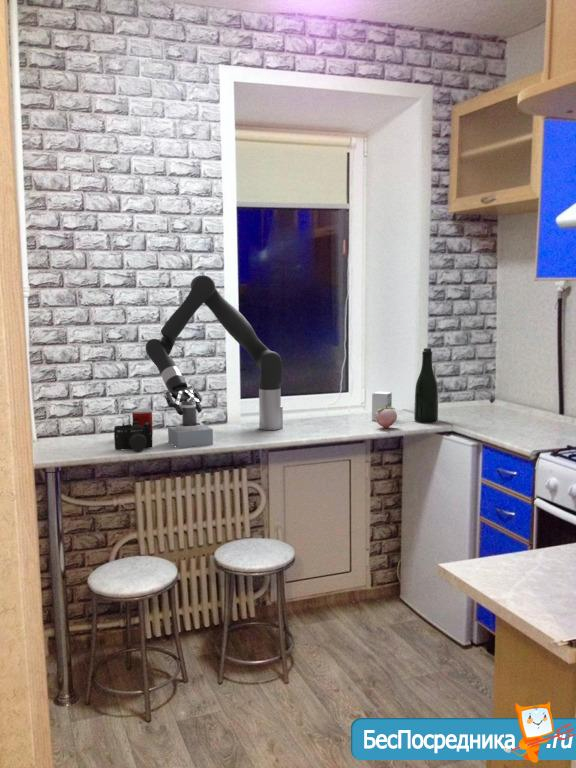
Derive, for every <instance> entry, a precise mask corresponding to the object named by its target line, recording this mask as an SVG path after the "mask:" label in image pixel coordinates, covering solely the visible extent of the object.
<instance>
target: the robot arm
mask: <svg viewBox="0 0 576 768" xmlns="http://www.w3.org/2000/svg"><path fill="white" fill-rule="evenodd" d="M203 304H204V305H206V307H207V308H208V309H209V311H211V312H212V314H213V315H214V317H215V318H216V319H217V321H218V322H219V323H220V324H221V326H222V327H223V329H224V330H226V332H227V333H228V334H229V335H230V336H231V337H232V338H233V339H234V340H235V341H236V342H237V343H238V345H240V346H241V347H242V348H243V349H244V350H245V351H246V352H247V353H248V355H249V356H250V357H251V359H252V360H253V361H254V362H255V364H256V366H257V367H258V368H259V370H260V381H259V382H258V401H259V402H258V403H259V415H258V416H259V425H258V426H259V430H264V431H274V430H275V431H276V430H280V429H283V428H284V414H283V413H284V412H283V409H284V407H283V406H282V405H281V404H282V401H281V400H282V398H281V395H282V392H281V391H282V390H281V389H282V388H281V385H282V381H283V361H282V357H281V355H280V354H279V353H277V352H276V351H272V350H270V349H269V348H268V347H267V346H266V345H265V344H264V343H263V342H262V341H261V340H260V338H259V337H258V336H257V334H256V332H255V330H254V328H253V326H252V324H250V322H249V321H248V320H247V319H246V317H245V316H244V315H243V314H242V313H241V312H240V311H239V310H238V309H237V308H236V307H234V305H233V304H231V303H230V302H229V301H228V300H227V299H225V298H224V296H223V295H222V294H221V293H220V292H219V291H218V289H217V287H216V283H215V281H214V279H213V278H212V277H210V276H208V275H204V274H203V275H197V276H195V277H194V278H193V279H192V281H191V282H190V291H189V293H188V294H187V296H186V298H185V300H184V301H183V302H182V303H181V304H180V306H178V307H177V309H176V310H175V311H174V312H173V313H172V315H171V316H170V317H169V318H168V320H167V321H166V322H165V324H164V325H163V326H162V328H161V330H160V333H161V335H162V337H161V340H159V339H157V338H151V339H149V340H148V341H147V342H146V344H145V352H146V354H147V355H148V358H149V359H150V361H152V363H153V364H154V366H156V368H157V370H158V371H159V374H160V376H161V379H162V381H163V383H164V385H165V387H166V388H167V391H166V393H165V394H164V398H165V399H164V400H165V402H166V404H167V406H168V407H169V408H173V409H175V411H176V413H177V414H178V415H179V416H182V414H183V410H182V405H181V404H180V403H182V402H196V412H197V413H198V414H200V413H201V412H202V410H203V407H202V405H201V402H202V401H203V397H202V395H200V393H199V391H198V389H197V388H193V389H192V390H190V388H189V387H188V384H187V382H186V380H185V378H184V376H183V374H182V371H180V370H179V368H178V366H177V365H176V363H175V361H174V360H173V358H172V356H171V357H170V355H171V352H172V351H173V348H174V345H175V342H176V340H177V338H178V337H179V336H180V334H181V333H182V332H183V330H184V329H185V327H186V326H187V324H188V323H189V321H190V320H191V319H192V317H193V316H194V315H195V313H197V311H198V310H199V308H201V306H202V305H203Z"/></svg>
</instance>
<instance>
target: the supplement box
mask: <svg viewBox="0 0 576 768" xmlns="http://www.w3.org/2000/svg"><path fill="white" fill-rule="evenodd" d="M392 397H393V393H392V392H391V391H375V392H372V393H371V421H375V422H377V421H376V417H375V415H376V412H377V411H378V409H380V408H386V405H387V407H393V406H392V401H393V400H392Z"/></svg>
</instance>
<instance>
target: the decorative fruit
mask: <svg viewBox="0 0 576 768" xmlns="http://www.w3.org/2000/svg"><path fill="white" fill-rule="evenodd" d="M375 417H376V421H375V422H377V424H378V425H379V426H380V427H382V428H384V429H388V428H390V427H392V425H394V424H395V423H396V421H397V418H398V413H397V412H396V408H395V407H393V406H392V407H387V405H386V408H380V409H378V411H377V412H376V415H375Z"/></svg>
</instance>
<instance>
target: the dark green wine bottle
mask: <svg viewBox="0 0 576 768" xmlns="http://www.w3.org/2000/svg"><path fill="white" fill-rule="evenodd" d="M421 354H422V357H421V359H422V361H421V369H420V373H419V375H418V378H417V379H416V382H415V388H414V389H415V391H414V410H413V411H414V414H413V420H414V421H415V422H416V423H420V422H421V423H420V424H422V423H423V424H434V423H433V422H435V423H437V422H438V421H439V385H438V381H437V378H436V375H435V372H434V369H433V351H432V348H431V347H425V348H423V351H422V353H421ZM436 421H437V422H436Z"/></svg>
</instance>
